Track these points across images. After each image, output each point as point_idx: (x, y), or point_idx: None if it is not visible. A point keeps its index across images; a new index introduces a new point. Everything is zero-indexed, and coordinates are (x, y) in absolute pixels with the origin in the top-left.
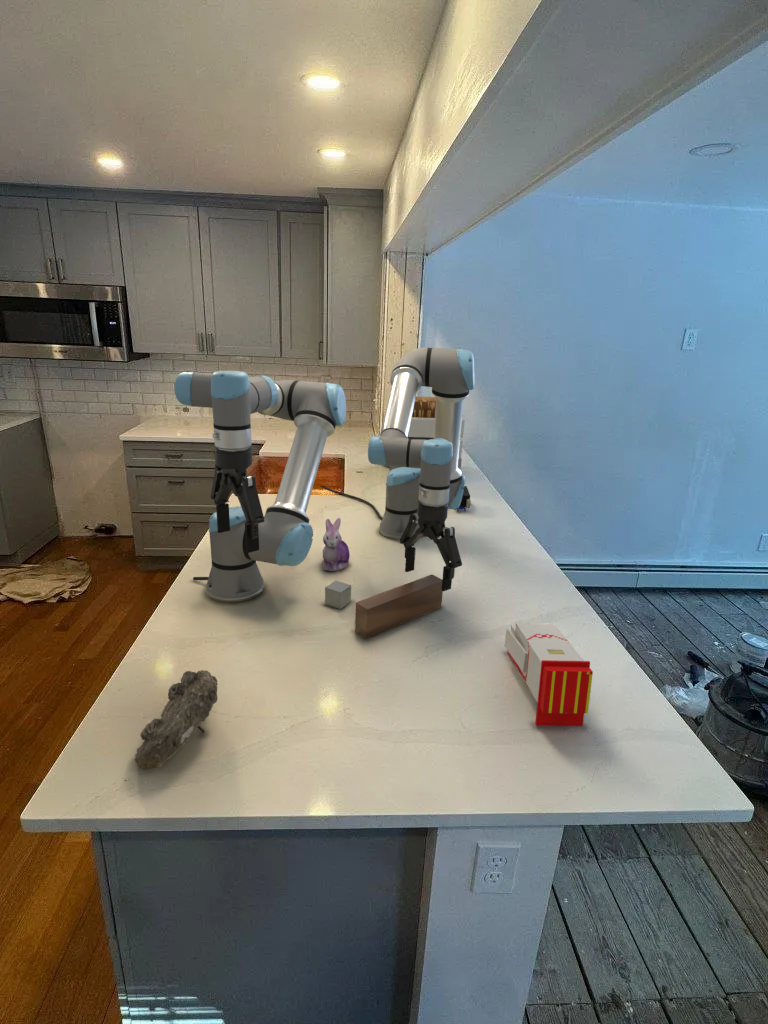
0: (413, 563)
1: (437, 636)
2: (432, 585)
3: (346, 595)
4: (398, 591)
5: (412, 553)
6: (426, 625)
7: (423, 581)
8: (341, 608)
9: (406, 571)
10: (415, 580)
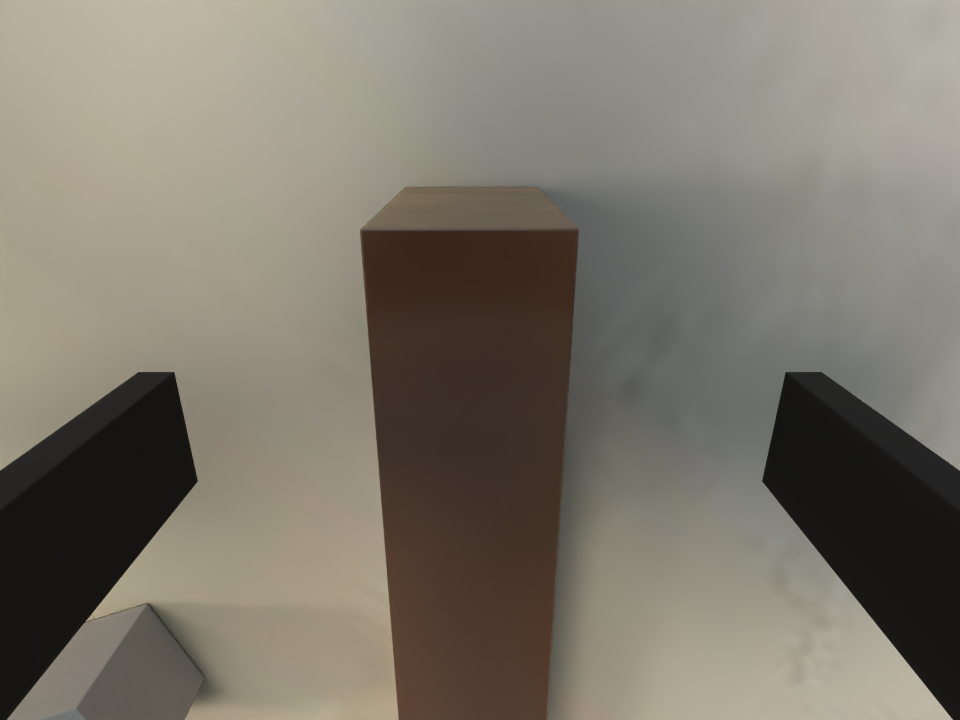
0: (125, 437)
1: (761, 475)
2: (566, 411)
3: (141, 696)
4: (465, 709)
5: (5, 592)
6: (635, 445)
7: (450, 441)
8: (199, 672)
9: (186, 485)
10: (384, 491)
